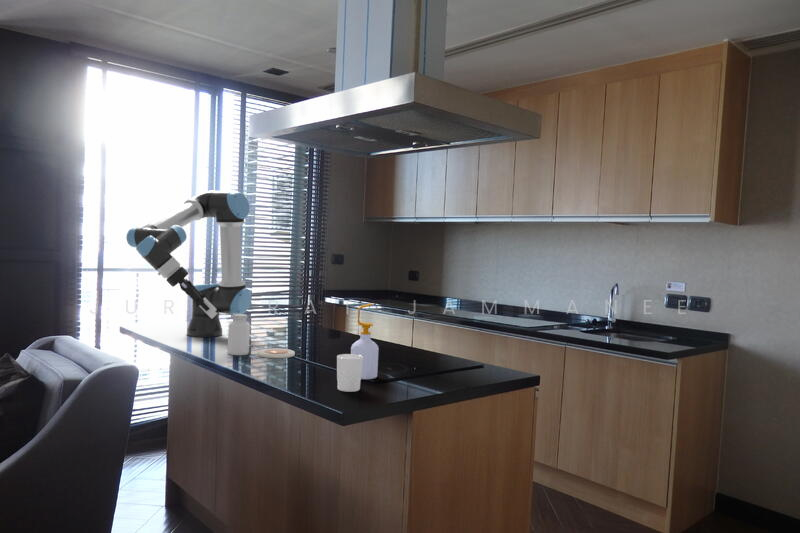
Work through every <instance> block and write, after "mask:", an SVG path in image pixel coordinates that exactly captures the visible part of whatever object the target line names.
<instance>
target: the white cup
mask: <svg viewBox="0 0 800 533" xmlns="http://www.w3.org/2000/svg"><path fill="white" fill-rule="evenodd" d="M362 365H363V356H361V355H355V354H351V353H342V354H338V355H336V381H337V390H339V391H341V392H346V393H347V392H348V393H349V392H350V393H351V392H358V391H360V389H361V380H362V379H361V375H362Z"/></svg>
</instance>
